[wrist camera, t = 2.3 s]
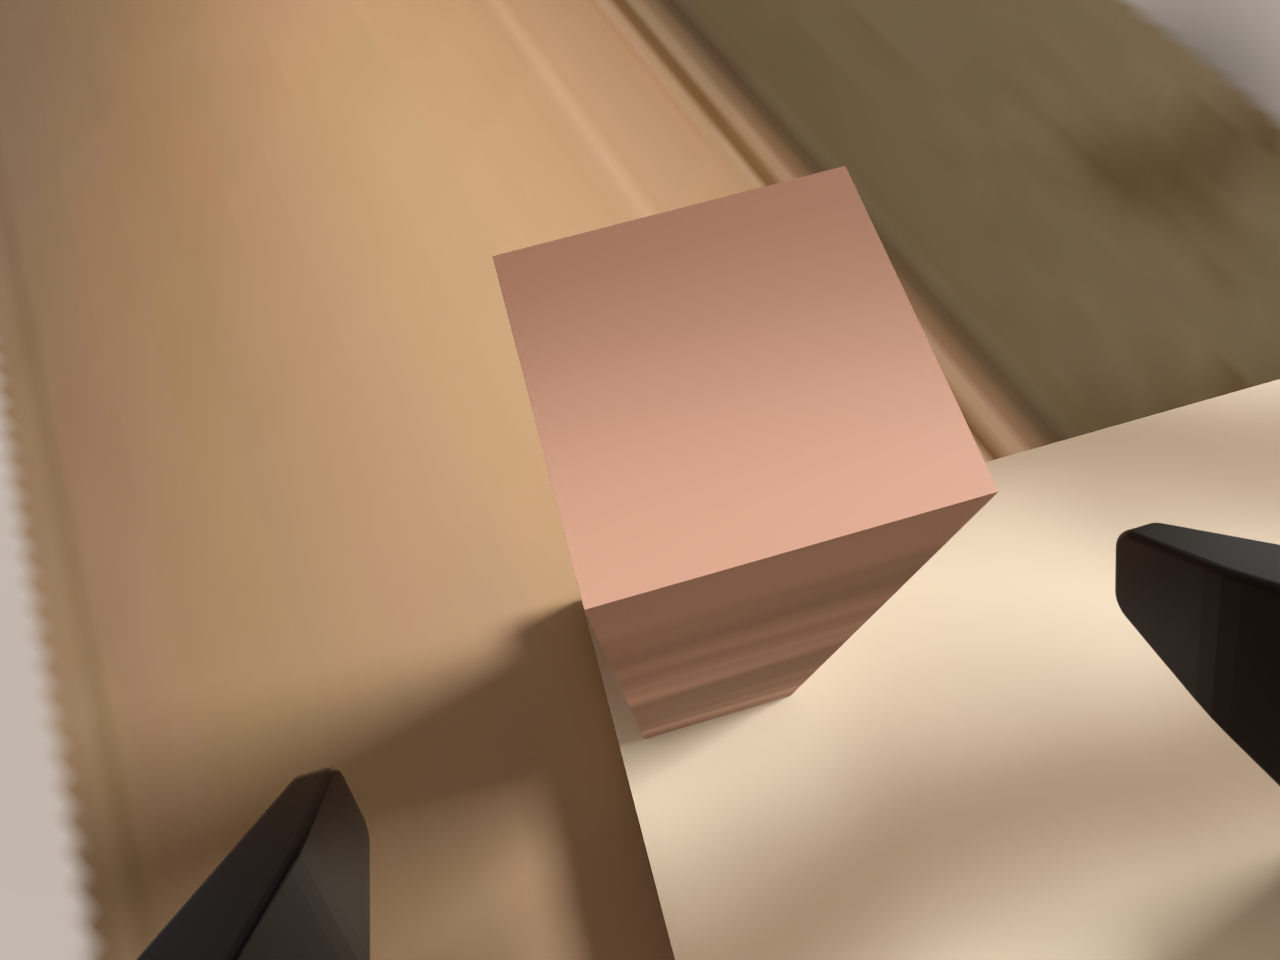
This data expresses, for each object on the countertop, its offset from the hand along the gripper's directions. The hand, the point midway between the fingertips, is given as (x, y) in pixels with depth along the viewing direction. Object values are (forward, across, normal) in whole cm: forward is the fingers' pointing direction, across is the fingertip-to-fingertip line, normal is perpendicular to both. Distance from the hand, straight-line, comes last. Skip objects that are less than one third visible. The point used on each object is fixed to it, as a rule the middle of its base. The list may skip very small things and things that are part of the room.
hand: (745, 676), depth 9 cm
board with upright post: (+4, -7, +10) cm, 12 cm away
